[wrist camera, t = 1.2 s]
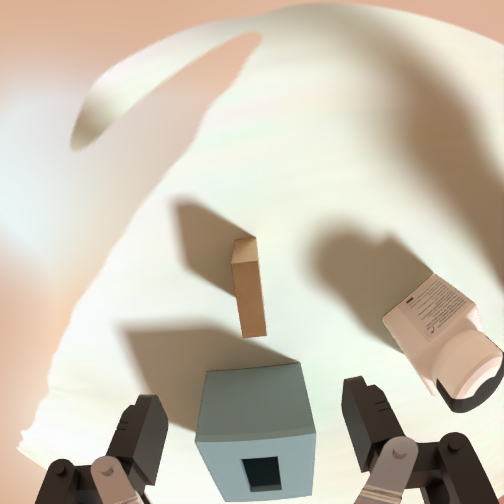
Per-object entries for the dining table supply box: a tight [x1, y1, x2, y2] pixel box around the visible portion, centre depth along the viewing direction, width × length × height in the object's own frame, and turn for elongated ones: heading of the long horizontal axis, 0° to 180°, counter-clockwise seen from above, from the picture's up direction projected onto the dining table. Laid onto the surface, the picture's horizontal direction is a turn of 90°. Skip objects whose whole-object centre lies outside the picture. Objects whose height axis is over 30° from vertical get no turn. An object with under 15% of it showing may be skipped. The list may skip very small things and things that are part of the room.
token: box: [231, 238, 267, 338], centre depth 24 cm, size 2×6×6 cm, turn 7°
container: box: [382, 274, 504, 413], centre depth 22 cm, size 8×8×13 cm
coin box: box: [195, 363, 316, 502], centre depth 27 cm, size 10×14×10 cm
